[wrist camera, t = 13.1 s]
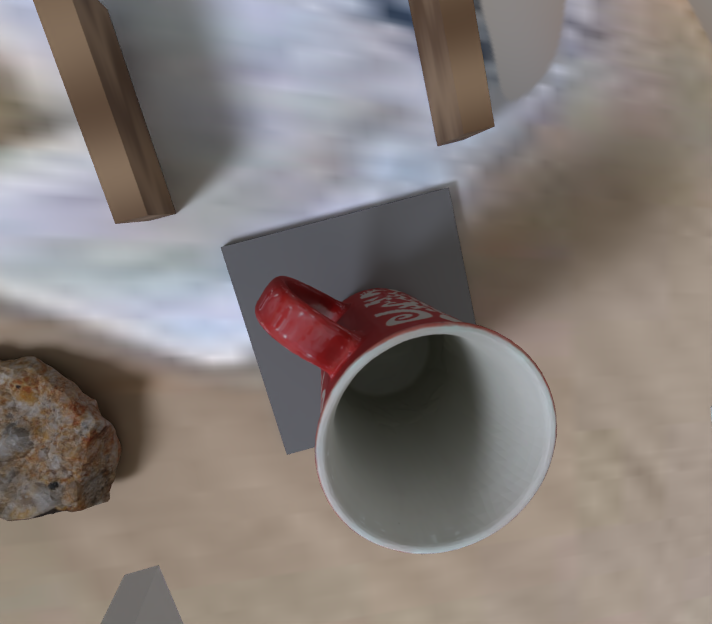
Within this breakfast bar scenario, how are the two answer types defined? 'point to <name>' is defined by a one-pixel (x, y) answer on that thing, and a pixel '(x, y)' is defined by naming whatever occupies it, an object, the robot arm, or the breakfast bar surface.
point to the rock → (51, 443)
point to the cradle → (128, 128)
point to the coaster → (346, 285)
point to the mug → (416, 415)
